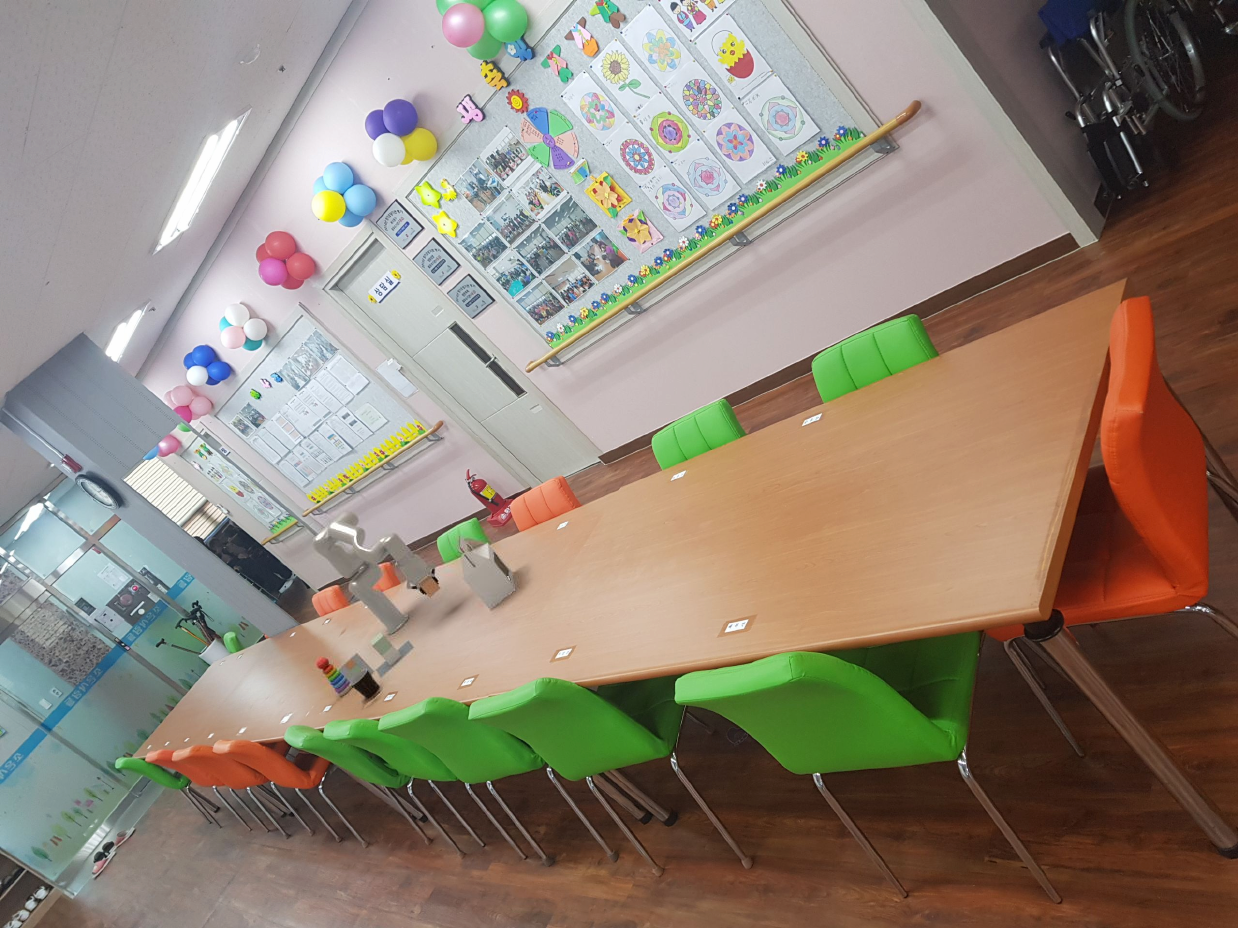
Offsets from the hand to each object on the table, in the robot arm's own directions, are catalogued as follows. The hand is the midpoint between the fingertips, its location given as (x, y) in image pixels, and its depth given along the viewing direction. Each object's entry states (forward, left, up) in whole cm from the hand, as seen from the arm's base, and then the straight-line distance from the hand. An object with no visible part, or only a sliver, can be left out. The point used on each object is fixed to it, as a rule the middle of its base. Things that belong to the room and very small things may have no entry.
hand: (431, 588), depth 358 cm
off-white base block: (+1, -31, -12) cm, 33 cm away
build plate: (+1, -31, -13) cm, 33 cm away
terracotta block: (0, 0, -1) cm, 1 cm away
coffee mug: (+17, -46, -14) cm, 50 cm away
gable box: (+29, +19, -14) cm, 37 cm away
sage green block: (+1, -31, -6) cm, 31 cm away
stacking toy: (-17, -55, -14) cm, 59 cm away
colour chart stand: (-7, -46, -13) cm, 48 cm away
